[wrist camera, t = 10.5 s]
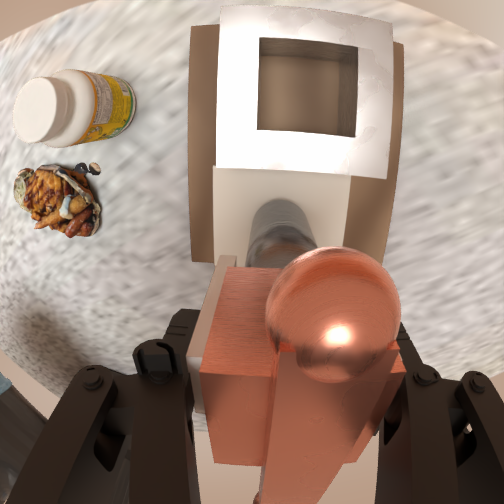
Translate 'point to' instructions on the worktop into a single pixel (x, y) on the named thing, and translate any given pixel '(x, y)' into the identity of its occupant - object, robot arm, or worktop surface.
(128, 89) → the supplement bottle
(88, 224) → the brown mottled lumpy part
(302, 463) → the copper link bar
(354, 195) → the board
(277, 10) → the eye block
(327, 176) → the mat
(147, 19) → the worktop surface
